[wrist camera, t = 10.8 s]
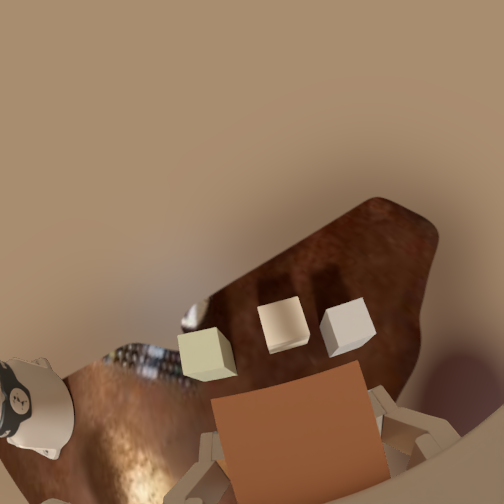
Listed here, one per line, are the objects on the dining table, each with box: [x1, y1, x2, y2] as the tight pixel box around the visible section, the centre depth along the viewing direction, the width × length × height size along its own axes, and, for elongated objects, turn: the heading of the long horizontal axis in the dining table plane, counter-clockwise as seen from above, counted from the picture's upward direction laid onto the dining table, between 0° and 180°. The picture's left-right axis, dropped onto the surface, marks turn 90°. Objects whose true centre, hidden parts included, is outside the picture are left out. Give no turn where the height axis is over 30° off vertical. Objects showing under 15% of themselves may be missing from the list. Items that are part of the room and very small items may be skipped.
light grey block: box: [319, 298, 376, 358], centre depth 31 cm, size 4×4×7 cm
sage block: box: [178, 327, 237, 382], centre depth 31 cm, size 4×4×8 cm
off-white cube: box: [257, 296, 310, 354], centre depth 34 cm, size 5×5×5 cm
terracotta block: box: [211, 360, 391, 504], centre depth 10 cm, size 4×4×8 cm
